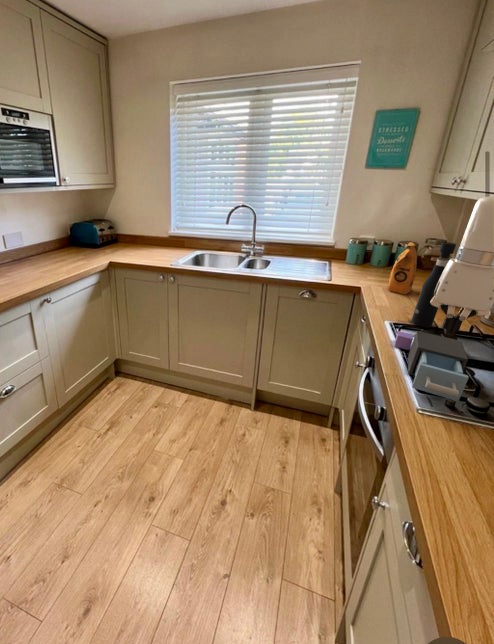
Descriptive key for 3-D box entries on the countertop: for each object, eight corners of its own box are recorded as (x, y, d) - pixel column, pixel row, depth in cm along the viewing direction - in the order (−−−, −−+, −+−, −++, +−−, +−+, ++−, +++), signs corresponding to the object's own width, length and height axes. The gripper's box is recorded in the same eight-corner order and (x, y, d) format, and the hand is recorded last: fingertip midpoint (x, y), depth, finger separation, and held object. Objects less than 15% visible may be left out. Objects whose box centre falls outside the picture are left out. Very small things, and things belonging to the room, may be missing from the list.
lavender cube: (409, 350, 103) (412, 339, 101) (394, 346, 105) (397, 335, 103) (408, 345, 106) (412, 334, 105) (394, 341, 108) (398, 330, 107)
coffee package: (383, 290, 155) (396, 244, 147) (388, 284, 164) (401, 240, 155) (408, 295, 149) (423, 247, 141) (412, 289, 158) (426, 243, 150)
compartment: (456, 387, 86) (468, 359, 82) (408, 374, 91) (417, 347, 87) (451, 367, 95) (461, 341, 91) (407, 356, 100) (416, 330, 96)
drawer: (461, 413, 75) (472, 388, 73) (412, 398, 80) (421, 374, 77) (453, 380, 87) (462, 358, 85) (411, 368, 92) (419, 347, 89)
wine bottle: (434, 325, 121) (464, 244, 109) (427, 329, 118) (456, 246, 106) (415, 318, 126) (442, 240, 114) (407, 322, 122) (434, 242, 111)
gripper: (519, 259, 70) (485, 335, 78) (434, 248, 77) (410, 319, 84) (530, 267, 64) (492, 348, 72) (438, 254, 71) (411, 330, 78)
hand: (448, 332), depth 78 cm, fingers closed
